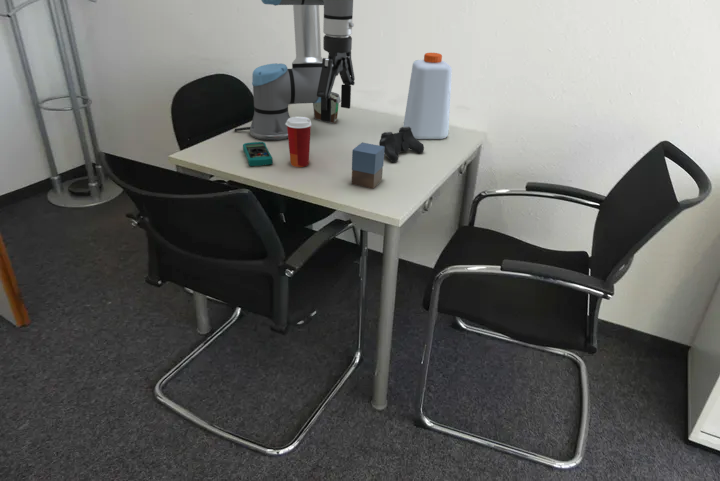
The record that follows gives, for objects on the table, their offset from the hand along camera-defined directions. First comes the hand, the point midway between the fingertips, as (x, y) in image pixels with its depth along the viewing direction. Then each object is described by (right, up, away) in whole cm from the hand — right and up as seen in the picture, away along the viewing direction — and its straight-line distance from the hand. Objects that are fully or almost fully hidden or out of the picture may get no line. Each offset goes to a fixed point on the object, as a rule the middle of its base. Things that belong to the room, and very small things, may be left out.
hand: (336, 114), depth 149 cm
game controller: (+20, -8, +24) cm, 33 cm away
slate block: (+9, -15, +2) cm, 18 cm away
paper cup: (-12, -12, +14) cm, 22 cm away
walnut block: (+9, -19, +4) cm, 21 cm away
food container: (-5, +11, +54) cm, 55 cm away
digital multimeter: (-26, -10, +17) cm, 32 cm away
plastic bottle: (+31, +3, +44) cm, 54 cm away
